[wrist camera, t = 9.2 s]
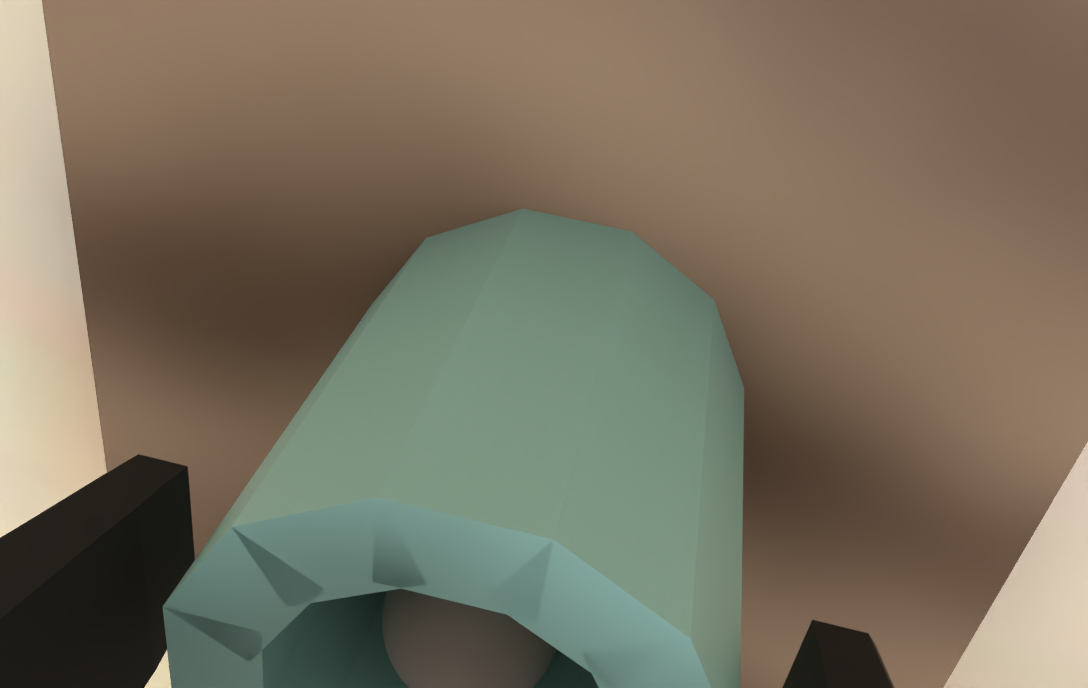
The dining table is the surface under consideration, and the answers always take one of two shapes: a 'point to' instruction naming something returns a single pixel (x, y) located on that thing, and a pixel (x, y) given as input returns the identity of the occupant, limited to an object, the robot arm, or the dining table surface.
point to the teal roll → (495, 476)
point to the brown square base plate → (650, 213)
